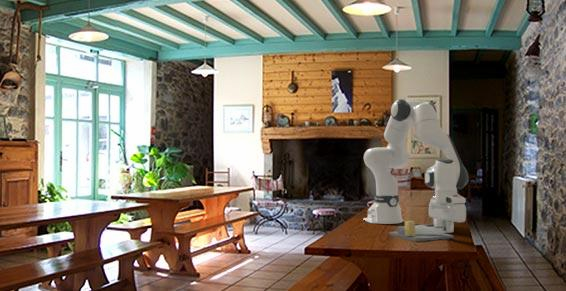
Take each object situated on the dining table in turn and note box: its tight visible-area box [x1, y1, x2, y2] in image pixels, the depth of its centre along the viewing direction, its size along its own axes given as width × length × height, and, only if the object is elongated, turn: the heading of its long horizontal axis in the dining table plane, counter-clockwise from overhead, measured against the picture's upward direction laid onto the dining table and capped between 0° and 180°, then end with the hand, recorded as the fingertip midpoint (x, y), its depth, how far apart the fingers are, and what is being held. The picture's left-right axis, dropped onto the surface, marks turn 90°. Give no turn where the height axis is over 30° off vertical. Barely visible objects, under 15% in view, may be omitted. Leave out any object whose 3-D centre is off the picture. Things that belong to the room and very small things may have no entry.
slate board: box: [388, 230, 454, 242], centre depth 238 cm, size 20×19×1 cm
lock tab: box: [404, 220, 416, 236], centre depth 232 cm, size 3×3×6 cm
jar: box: [432, 218, 455, 234], centre depth 251 cm, size 9×8×12 cm
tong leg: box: [415, 226, 445, 235], centre depth 235 cm, size 12×2×3 cm, turn 81°
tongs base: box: [397, 223, 434, 236], centre depth 239 cm, size 6×17×3 cm, turn 111°
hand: (446, 230), depth 228 cm, fingers closed
